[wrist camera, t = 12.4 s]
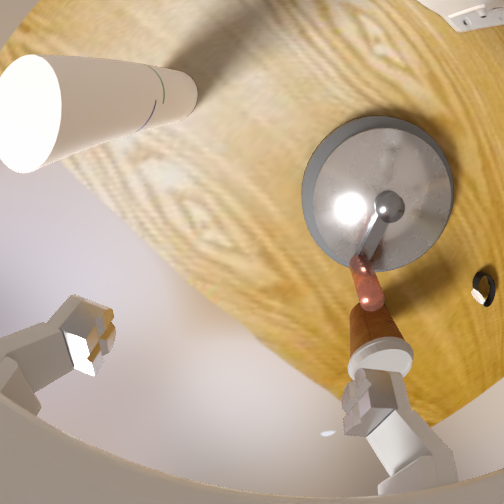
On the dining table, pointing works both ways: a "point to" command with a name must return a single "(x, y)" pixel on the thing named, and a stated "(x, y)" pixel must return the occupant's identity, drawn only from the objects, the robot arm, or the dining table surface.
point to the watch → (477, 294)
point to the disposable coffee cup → (377, 343)
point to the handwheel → (380, 204)
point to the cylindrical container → (83, 105)
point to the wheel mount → (331, 143)
